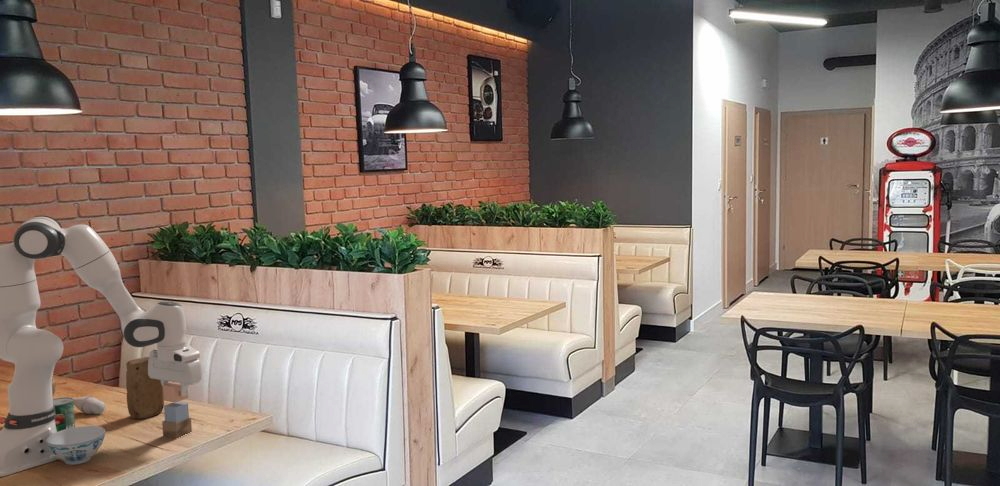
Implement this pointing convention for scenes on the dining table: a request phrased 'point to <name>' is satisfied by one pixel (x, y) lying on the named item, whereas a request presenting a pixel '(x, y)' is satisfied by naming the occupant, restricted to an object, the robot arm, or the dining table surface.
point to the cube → (173, 392)
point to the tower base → (176, 428)
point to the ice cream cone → (89, 405)
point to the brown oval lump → (142, 390)
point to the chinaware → (76, 443)
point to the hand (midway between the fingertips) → (175, 394)
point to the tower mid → (176, 412)
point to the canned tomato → (64, 413)
